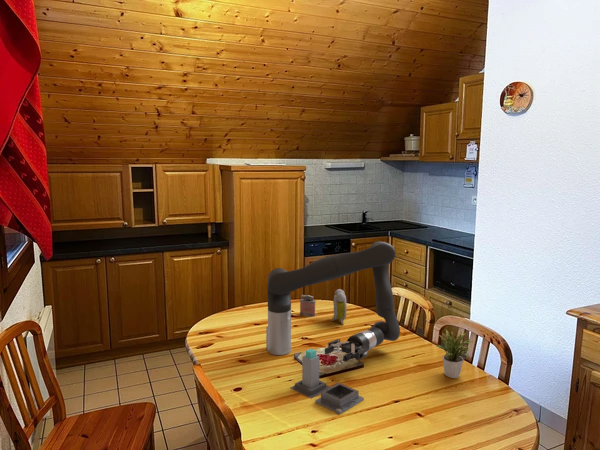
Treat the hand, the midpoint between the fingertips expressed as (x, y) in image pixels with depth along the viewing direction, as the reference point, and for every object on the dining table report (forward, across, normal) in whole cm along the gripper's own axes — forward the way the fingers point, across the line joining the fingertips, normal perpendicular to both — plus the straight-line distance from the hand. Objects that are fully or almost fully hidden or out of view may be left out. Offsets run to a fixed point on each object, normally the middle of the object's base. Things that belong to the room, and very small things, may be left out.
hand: (334, 355), depth 163 cm
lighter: (-42, -52, +8) cm, 67 cm away
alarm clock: (-45, -35, +8) cm, 58 cm away
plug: (+12, 0, +8) cm, 14 cm away
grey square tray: (+12, 0, +8) cm, 15 cm away
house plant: (-30, +30, +8) cm, 43 cm away
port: (+12, +12, +8) cm, 19 cm away
